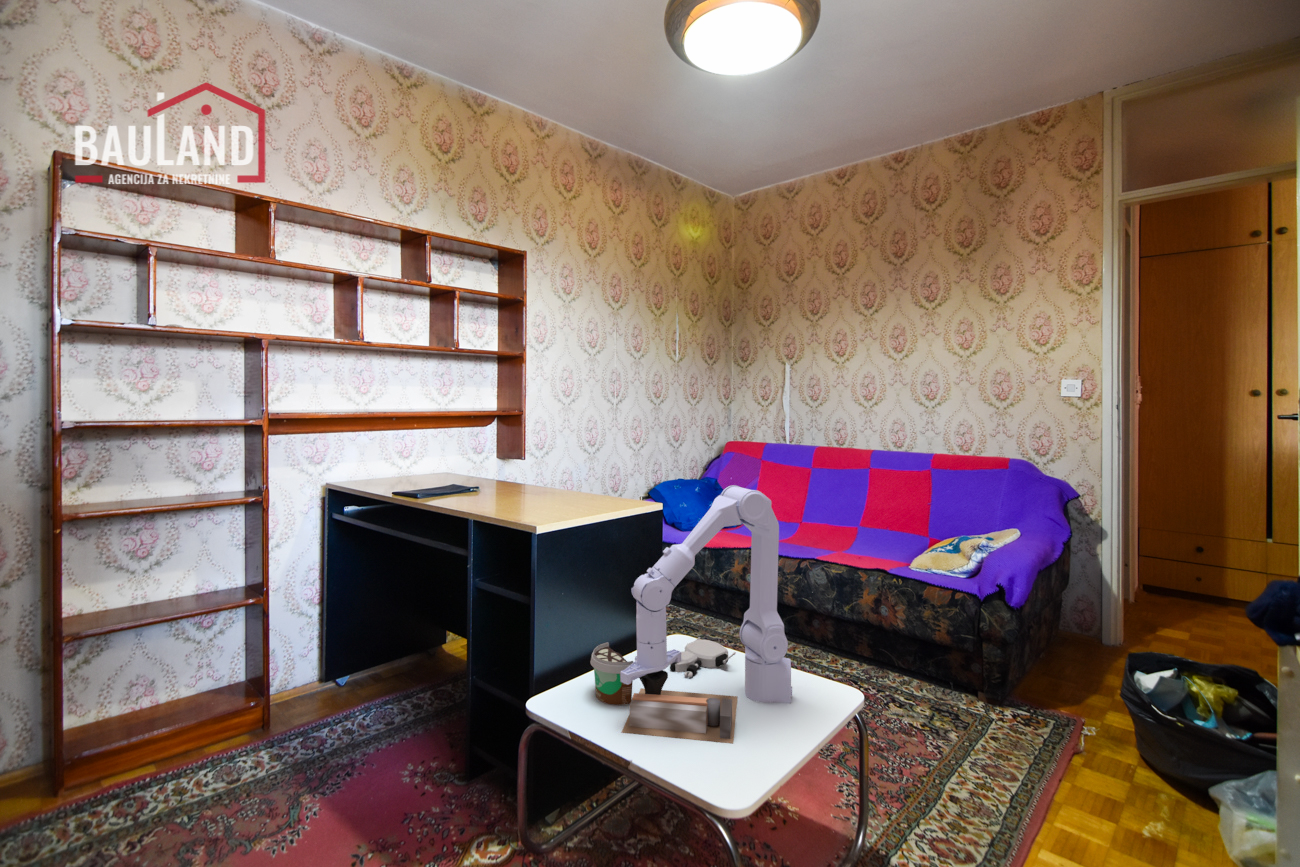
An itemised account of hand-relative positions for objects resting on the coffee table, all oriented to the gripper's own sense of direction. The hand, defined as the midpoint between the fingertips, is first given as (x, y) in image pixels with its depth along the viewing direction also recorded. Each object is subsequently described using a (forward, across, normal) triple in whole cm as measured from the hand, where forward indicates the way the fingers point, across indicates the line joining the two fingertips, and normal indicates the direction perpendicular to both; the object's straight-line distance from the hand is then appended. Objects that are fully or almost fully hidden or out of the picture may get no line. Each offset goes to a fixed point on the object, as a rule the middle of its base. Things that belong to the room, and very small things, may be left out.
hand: (652, 708), depth 118 cm
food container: (+2, +2, -11) cm, 12 cm away
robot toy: (+3, -24, -10) cm, 26 cm away
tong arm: (+1, -1, +5) cm, 5 cm away
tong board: (+2, -4, +4) cm, 6 cm away
